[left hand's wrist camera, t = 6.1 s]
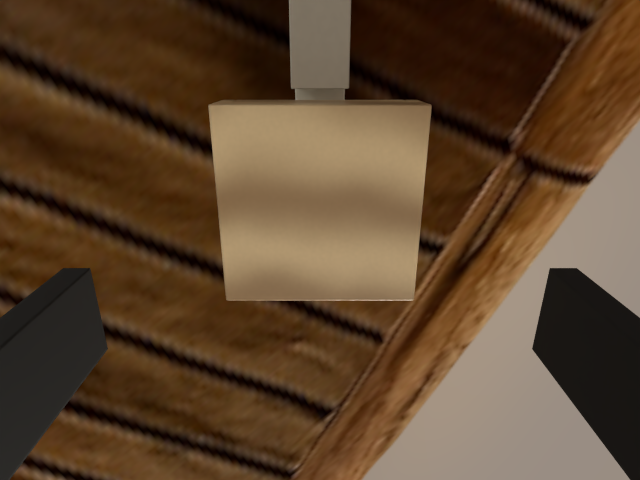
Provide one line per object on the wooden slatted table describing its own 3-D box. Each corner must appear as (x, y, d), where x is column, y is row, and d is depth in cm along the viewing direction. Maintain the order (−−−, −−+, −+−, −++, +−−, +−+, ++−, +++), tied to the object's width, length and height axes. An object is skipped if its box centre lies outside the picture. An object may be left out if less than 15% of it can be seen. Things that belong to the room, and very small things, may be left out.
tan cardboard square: (403, 275, 26) (414, 300, 23) (236, 275, 26) (226, 300, 23) (417, 99, 22) (432, 104, 19) (222, 99, 22) (207, 104, 19)
